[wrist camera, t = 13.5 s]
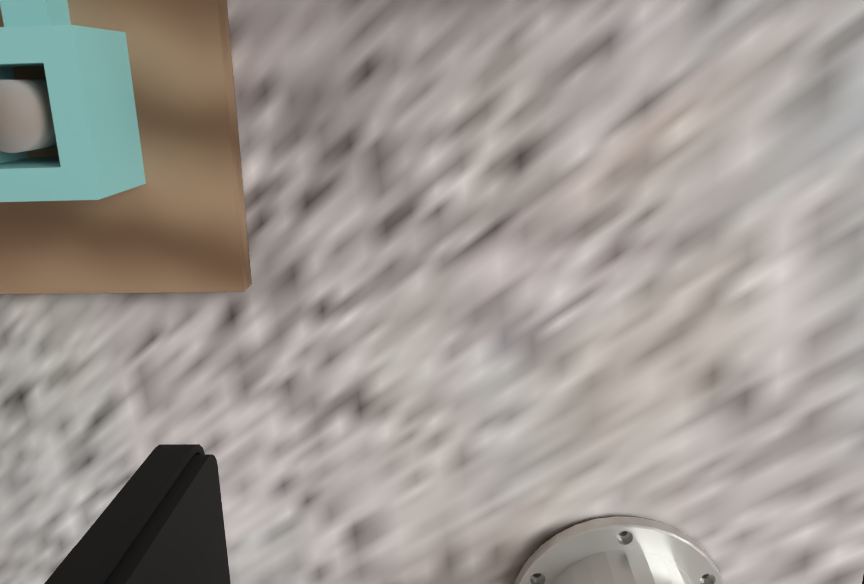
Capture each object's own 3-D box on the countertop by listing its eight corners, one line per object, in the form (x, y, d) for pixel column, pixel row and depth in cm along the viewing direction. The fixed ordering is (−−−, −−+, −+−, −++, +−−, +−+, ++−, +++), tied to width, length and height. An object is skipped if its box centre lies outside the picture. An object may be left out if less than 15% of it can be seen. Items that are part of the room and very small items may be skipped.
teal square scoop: (145, 183, 36) (98, 199, 32) (5, 187, 37) (-63, 203, 32) (105, -112, 33) (46, -145, 28) (-49, -106, 33) (-135, -137, 28)
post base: (251, 283, 39) (216, 319, 33) (-46, 286, 40) (-131, 322, 34) (218, -94, 34) (170, -129, 28) (-121, -85, 35) (-236, -117, 29)
